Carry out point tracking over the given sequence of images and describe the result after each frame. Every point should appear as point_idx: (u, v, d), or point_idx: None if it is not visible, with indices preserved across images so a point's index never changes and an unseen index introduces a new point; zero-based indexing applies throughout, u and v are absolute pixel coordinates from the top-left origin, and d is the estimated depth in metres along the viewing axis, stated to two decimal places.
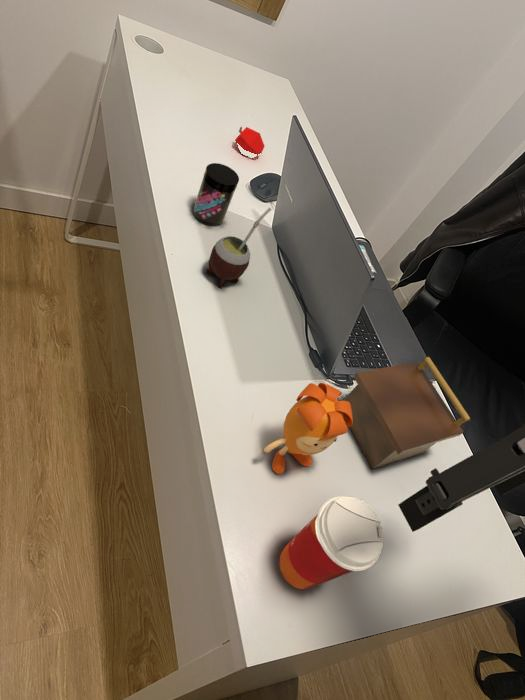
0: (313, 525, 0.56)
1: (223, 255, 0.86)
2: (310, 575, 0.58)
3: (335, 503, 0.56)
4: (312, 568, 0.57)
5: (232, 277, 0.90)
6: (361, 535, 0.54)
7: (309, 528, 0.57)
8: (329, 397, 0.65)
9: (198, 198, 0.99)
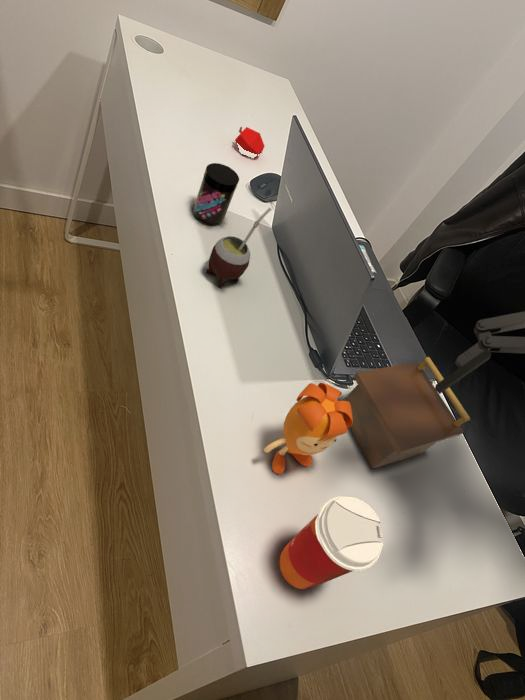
0: (313, 525, 0.56)
1: (223, 255, 0.86)
2: (310, 575, 0.58)
3: (335, 503, 0.56)
4: (312, 568, 0.57)
5: (232, 277, 0.90)
6: (361, 535, 0.54)
7: (309, 528, 0.57)
8: (329, 397, 0.65)
9: (198, 198, 0.99)
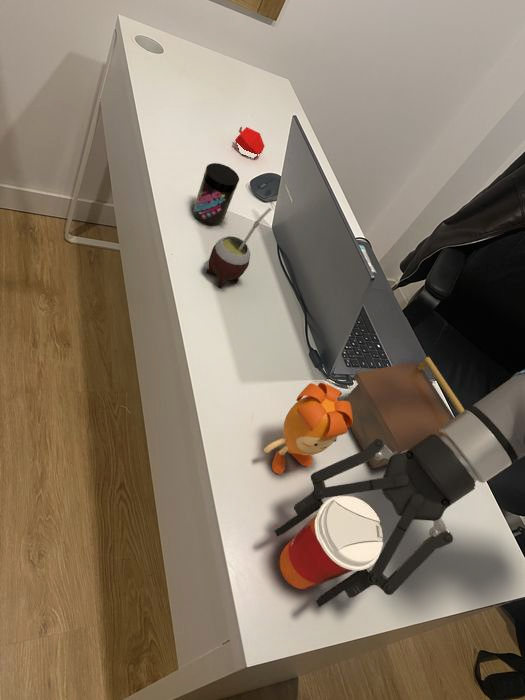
0: (313, 525, 0.56)
1: (223, 255, 0.86)
2: (310, 575, 0.58)
3: (334, 502, 0.56)
4: (312, 568, 0.57)
5: (232, 277, 0.90)
6: (360, 535, 0.54)
7: (309, 528, 0.57)
8: (329, 397, 0.65)
9: (198, 198, 0.99)
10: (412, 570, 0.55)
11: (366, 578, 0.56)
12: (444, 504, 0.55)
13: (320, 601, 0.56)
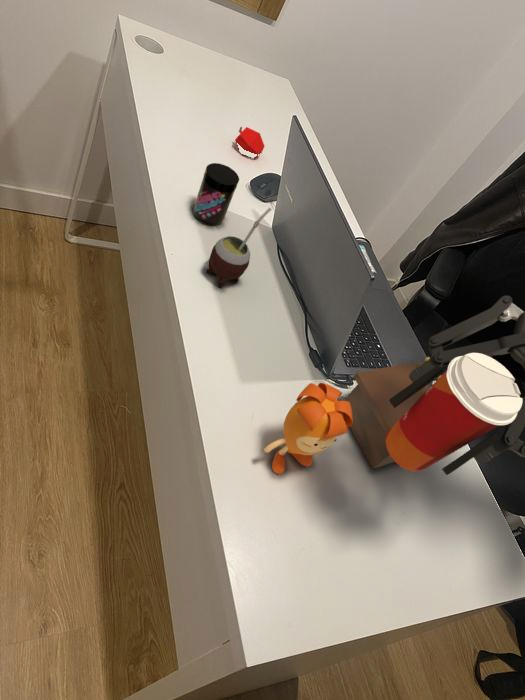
0: (440, 384, 0.51)
1: (223, 255, 0.86)
2: (432, 444, 0.53)
3: (466, 357, 0.50)
4: (437, 434, 0.52)
5: (232, 277, 0.90)
6: (498, 389, 0.49)
7: (433, 390, 0.52)
8: (329, 397, 0.65)
9: (198, 198, 0.99)
10: None
11: (499, 442, 0.51)
12: None
13: (448, 468, 0.51)
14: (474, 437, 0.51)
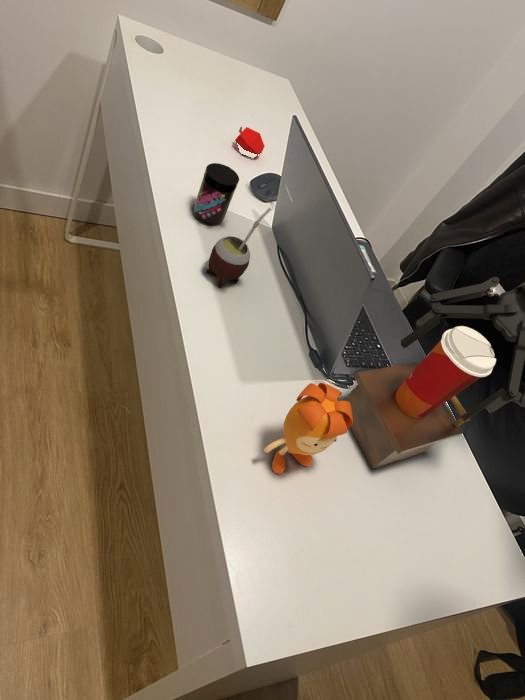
0: (436, 349, 0.70)
1: (223, 255, 0.86)
2: (431, 394, 0.72)
3: (455, 329, 0.69)
4: (434, 386, 0.70)
5: (232, 277, 0.90)
6: (478, 352, 0.68)
7: (431, 354, 0.71)
8: (329, 397, 0.65)
9: (198, 198, 0.99)
10: None
11: (506, 397, 0.68)
12: None
13: (467, 415, 0.68)
14: (461, 387, 0.69)
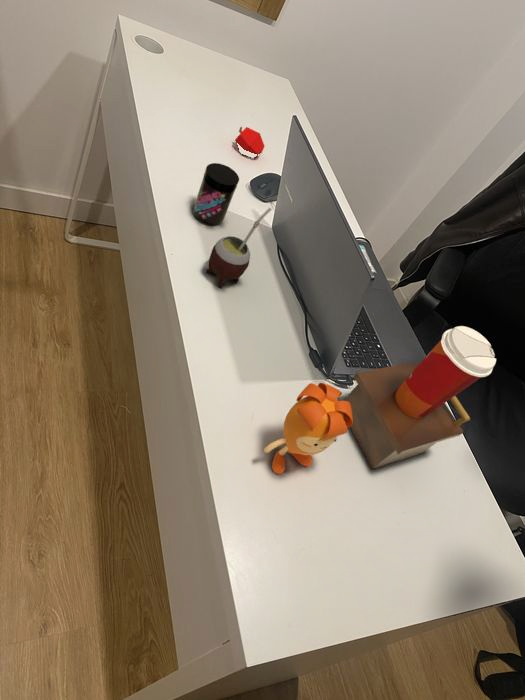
0: (436, 349, 0.70)
1: (223, 255, 0.86)
2: (431, 394, 0.72)
3: (455, 328, 0.69)
4: (434, 386, 0.70)
5: (232, 277, 0.90)
6: (478, 352, 0.68)
7: (431, 354, 0.71)
8: (329, 397, 0.65)
9: (198, 198, 0.99)
10: None
11: None
12: None
13: None
14: (461, 387, 0.69)
